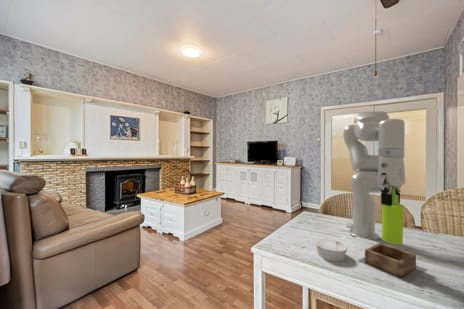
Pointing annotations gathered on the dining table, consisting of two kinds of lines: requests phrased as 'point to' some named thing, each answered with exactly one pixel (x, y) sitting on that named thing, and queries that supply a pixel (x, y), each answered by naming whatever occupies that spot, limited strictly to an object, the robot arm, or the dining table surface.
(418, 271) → the pale grey square slab
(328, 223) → the dining table surface
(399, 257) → the walnut box
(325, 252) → the ramekin
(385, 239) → the soap dispenser
